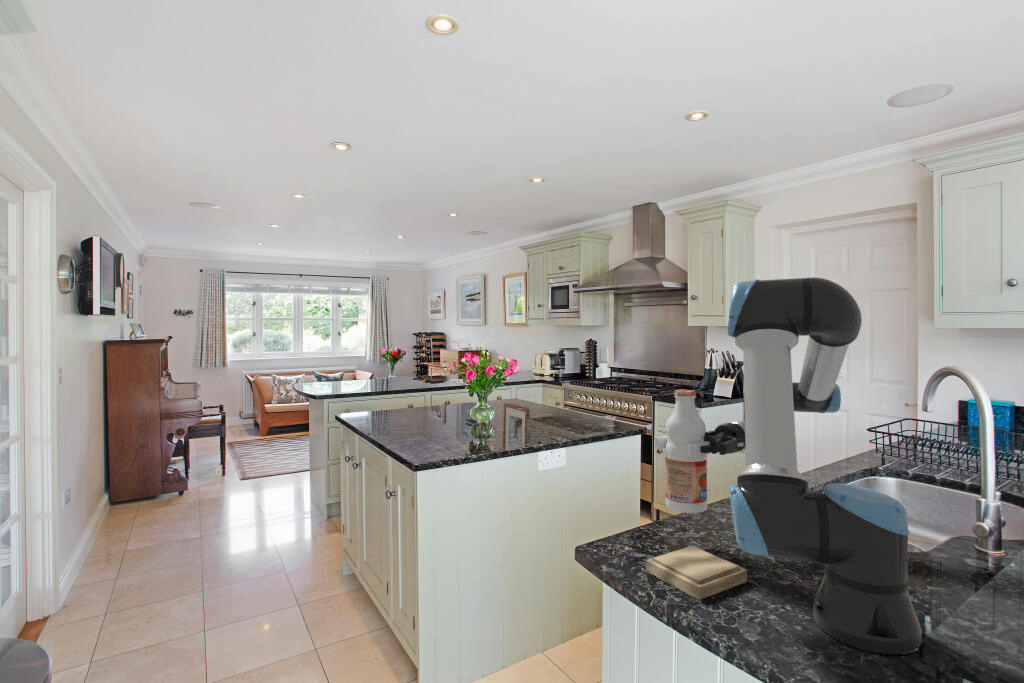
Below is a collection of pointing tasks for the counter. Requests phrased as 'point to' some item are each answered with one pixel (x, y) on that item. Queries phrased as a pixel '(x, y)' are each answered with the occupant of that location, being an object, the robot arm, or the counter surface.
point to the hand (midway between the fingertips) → (672, 446)
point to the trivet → (696, 572)
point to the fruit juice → (685, 457)
